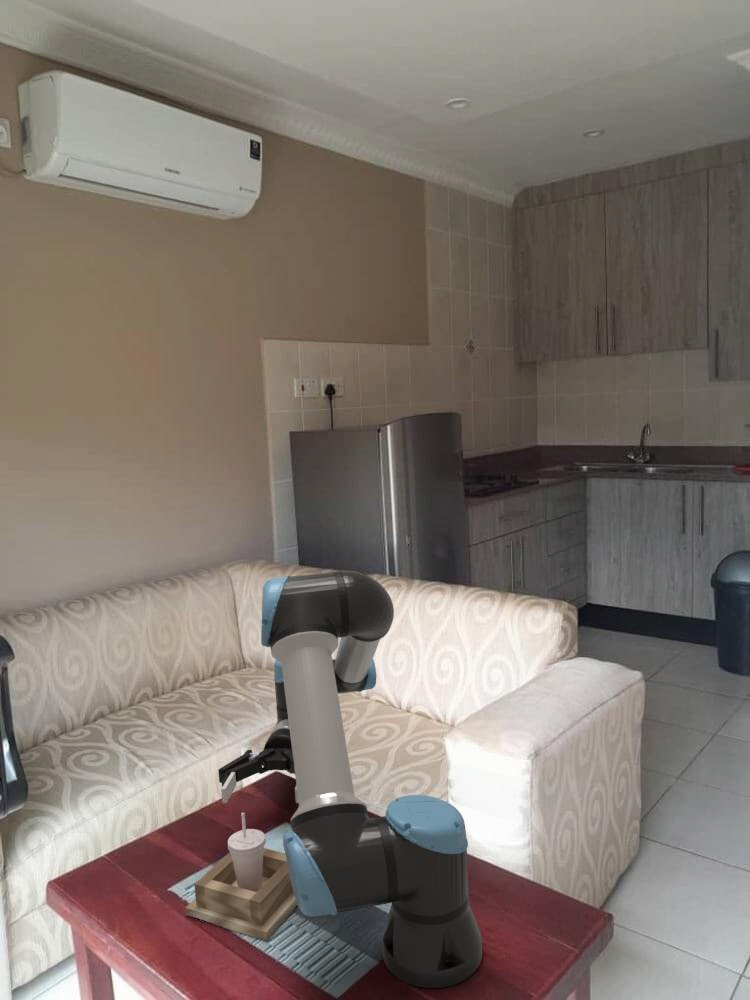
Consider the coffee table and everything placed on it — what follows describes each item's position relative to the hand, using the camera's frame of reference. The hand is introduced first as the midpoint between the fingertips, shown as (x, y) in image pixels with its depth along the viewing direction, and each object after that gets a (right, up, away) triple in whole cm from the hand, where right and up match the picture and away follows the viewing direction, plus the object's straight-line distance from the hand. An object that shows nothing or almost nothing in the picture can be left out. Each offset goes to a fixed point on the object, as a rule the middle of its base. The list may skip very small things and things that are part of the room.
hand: (260, 796), depth 141 cm
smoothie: (0, -13, -8) cm, 16 cm away
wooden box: (0, -15, -8) cm, 17 cm away
